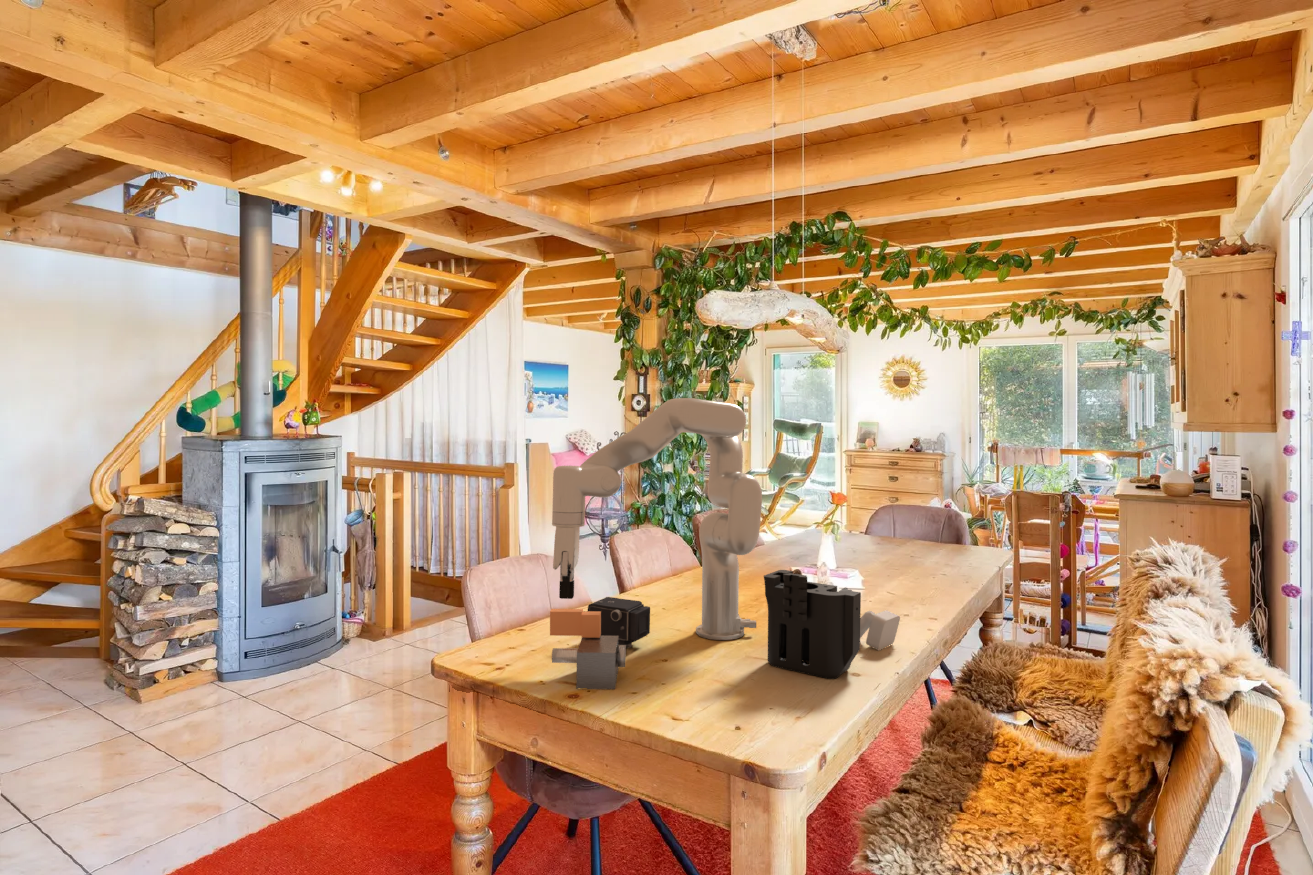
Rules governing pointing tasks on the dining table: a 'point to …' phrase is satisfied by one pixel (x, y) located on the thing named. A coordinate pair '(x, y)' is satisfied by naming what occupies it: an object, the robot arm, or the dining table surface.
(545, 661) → the dining table surface
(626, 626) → the camera
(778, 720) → the dining table surface
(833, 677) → the black machined bracket
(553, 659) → the pin
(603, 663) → the block
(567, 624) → the plate
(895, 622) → the wall hook
